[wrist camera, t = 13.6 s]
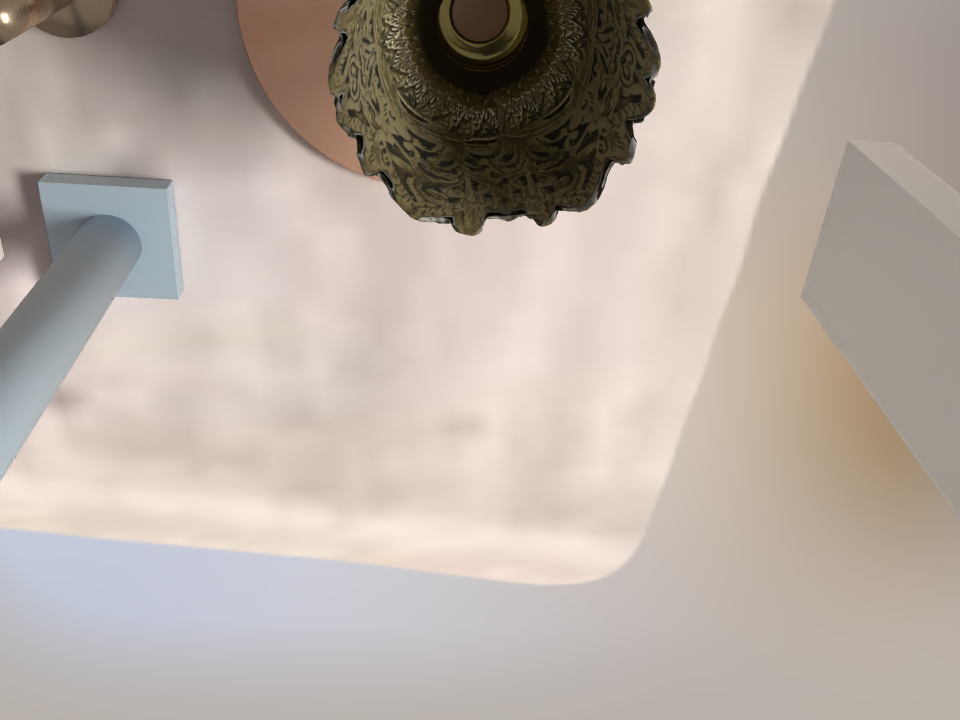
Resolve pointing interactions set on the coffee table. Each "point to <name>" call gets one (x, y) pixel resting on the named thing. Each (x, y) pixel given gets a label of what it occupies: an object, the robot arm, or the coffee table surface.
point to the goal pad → (324, 61)
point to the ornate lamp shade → (493, 104)
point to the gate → (82, 285)
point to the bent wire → (53, 16)
